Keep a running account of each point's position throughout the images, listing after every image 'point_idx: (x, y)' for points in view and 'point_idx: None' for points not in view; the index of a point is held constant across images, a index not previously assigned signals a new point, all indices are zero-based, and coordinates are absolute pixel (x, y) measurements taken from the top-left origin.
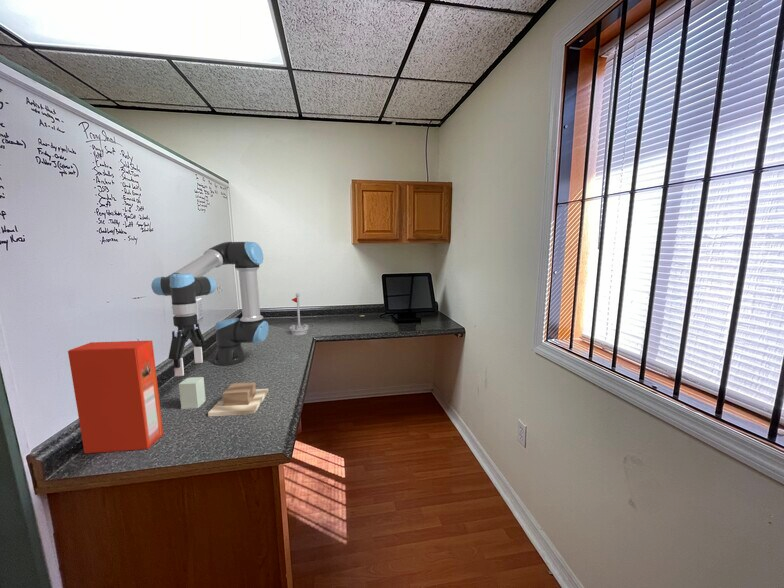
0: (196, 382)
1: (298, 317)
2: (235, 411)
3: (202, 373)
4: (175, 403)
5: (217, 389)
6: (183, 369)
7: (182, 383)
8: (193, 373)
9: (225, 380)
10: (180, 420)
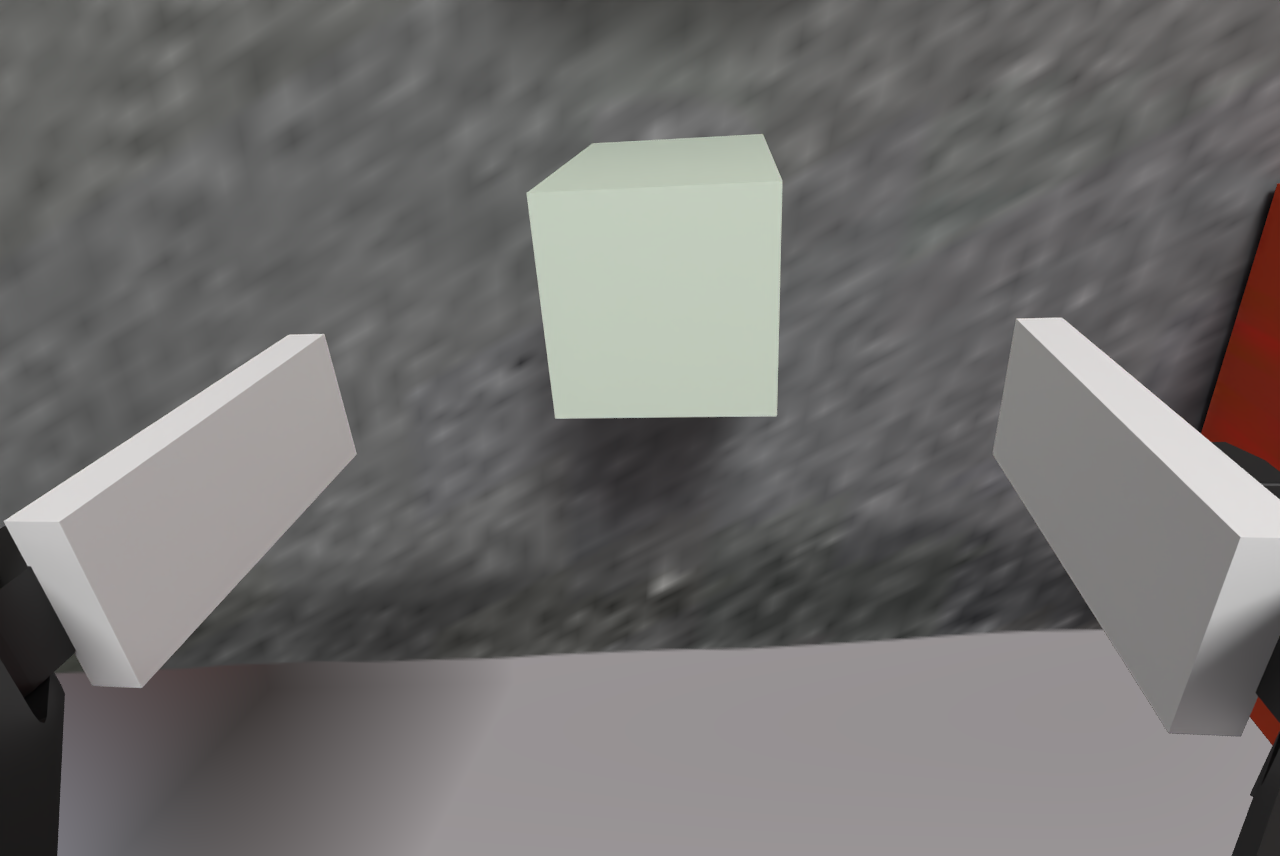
0: (747, 186)
1: None
2: None
3: None
4: None
5: (324, 153)
6: (1067, 366)
7: (757, 380)
8: None
9: (97, 182)
10: (1013, 172)
